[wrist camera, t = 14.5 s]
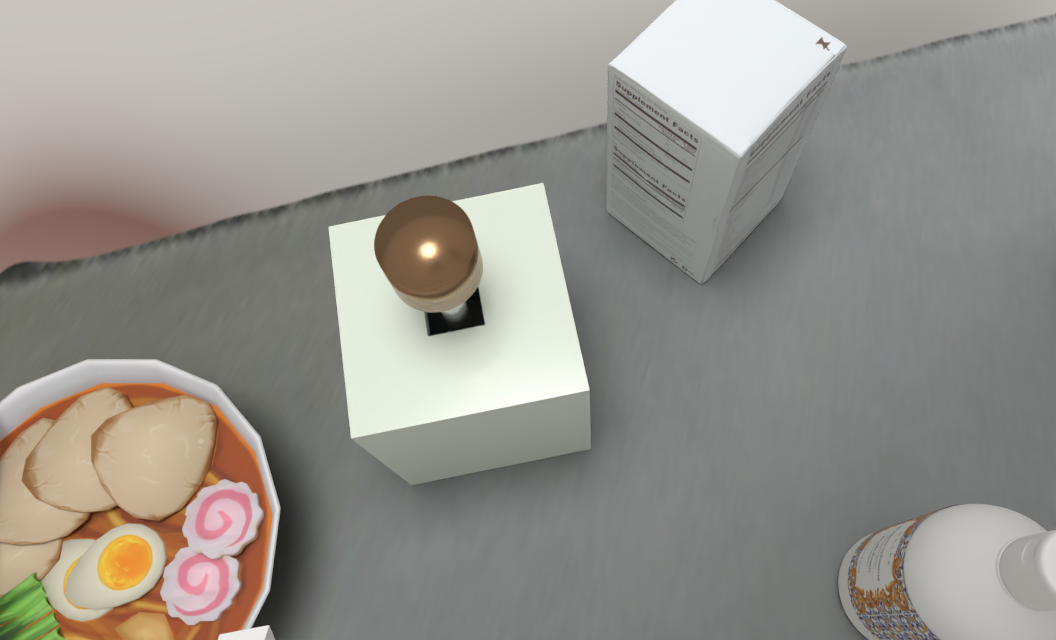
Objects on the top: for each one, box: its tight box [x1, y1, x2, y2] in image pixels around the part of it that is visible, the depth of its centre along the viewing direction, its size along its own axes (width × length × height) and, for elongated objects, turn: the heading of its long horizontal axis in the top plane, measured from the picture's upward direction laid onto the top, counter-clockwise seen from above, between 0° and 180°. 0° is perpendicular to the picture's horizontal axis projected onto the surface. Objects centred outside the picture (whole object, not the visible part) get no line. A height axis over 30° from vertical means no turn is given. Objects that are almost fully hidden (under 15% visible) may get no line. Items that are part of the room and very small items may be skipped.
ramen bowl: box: [0, 359, 281, 640], centre depth 49 cm, size 25×23×8 cm
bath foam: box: [838, 504, 1056, 640], centre depth 39 cm, size 7×7×20 cm
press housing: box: [329, 183, 591, 485], centre depth 48 cm, size 12×12×14 cm
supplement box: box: [606, 0, 847, 284], centre depth 51 cm, size 10×9×17 cm
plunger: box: [374, 196, 485, 336], centre depth 44 cm, size 9×9×19 cm
